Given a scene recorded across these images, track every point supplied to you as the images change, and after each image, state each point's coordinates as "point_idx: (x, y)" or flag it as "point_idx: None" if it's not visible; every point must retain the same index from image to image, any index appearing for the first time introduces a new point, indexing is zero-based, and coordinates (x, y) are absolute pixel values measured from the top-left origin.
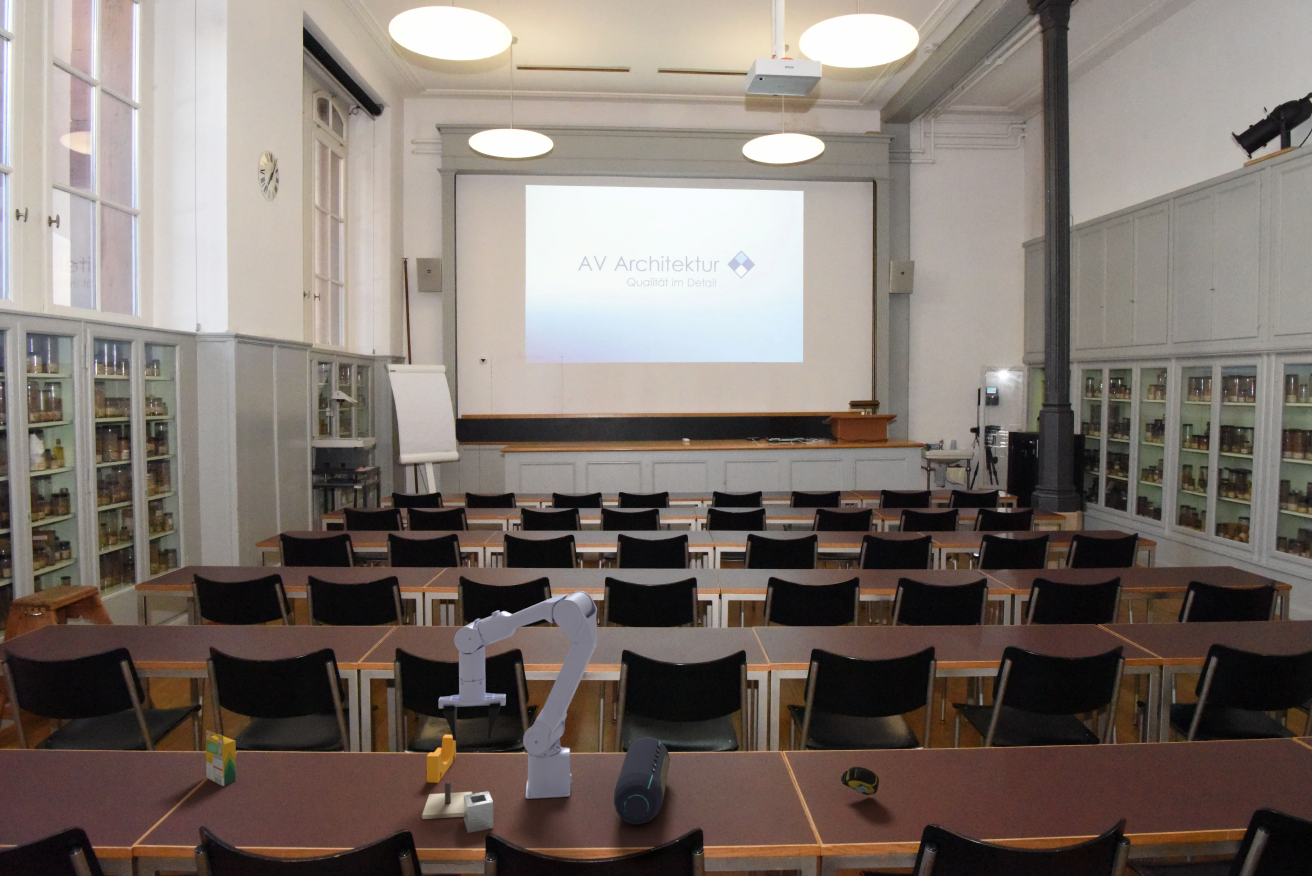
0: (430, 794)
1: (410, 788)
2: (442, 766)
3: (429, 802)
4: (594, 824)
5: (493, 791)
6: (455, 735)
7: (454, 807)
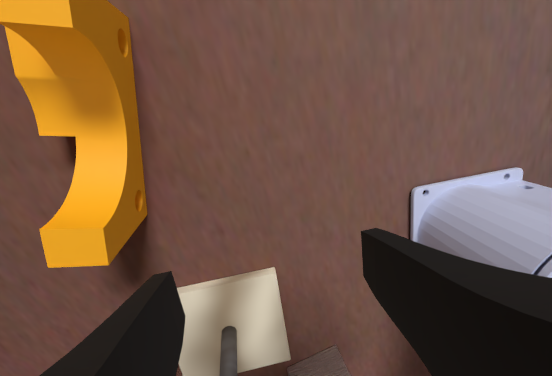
0: None
1: None
2: (128, 189)
3: None
4: None
5: (326, 241)
6: (178, 352)
7: (253, 346)
